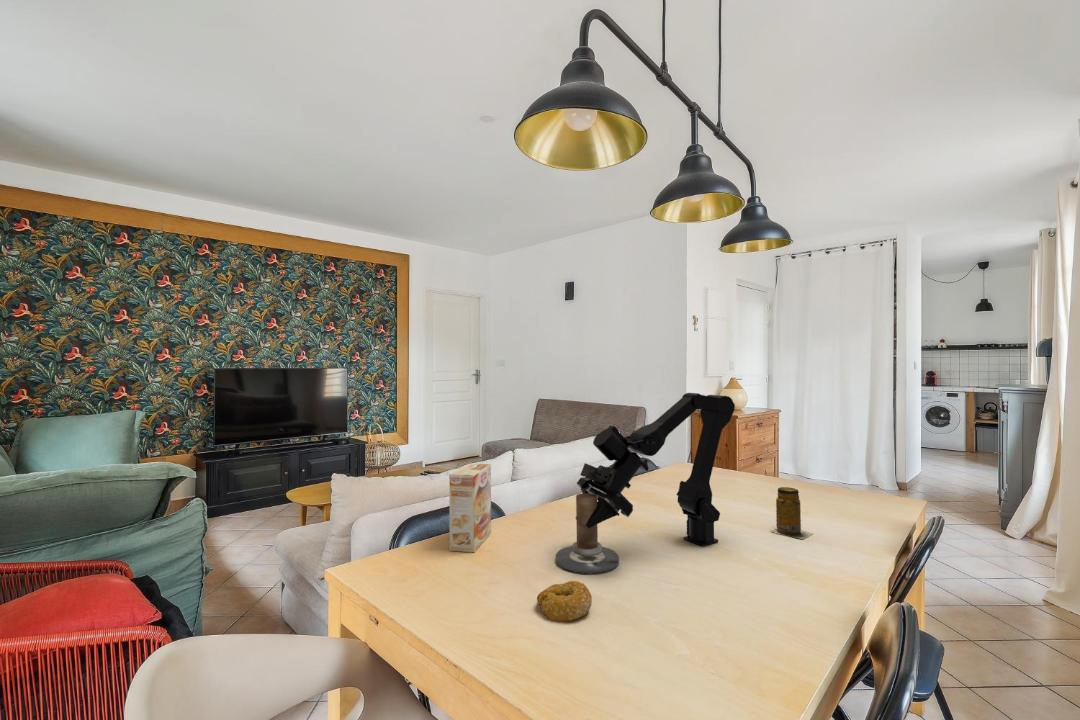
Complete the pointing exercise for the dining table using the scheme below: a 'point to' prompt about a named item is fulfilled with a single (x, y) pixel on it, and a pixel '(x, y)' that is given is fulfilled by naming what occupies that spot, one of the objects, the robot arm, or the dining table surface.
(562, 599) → the bagel
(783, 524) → the condiment
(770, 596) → the dining table surface
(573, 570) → the base plate
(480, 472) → the coffeecake box
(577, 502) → the wooden peg on stand
